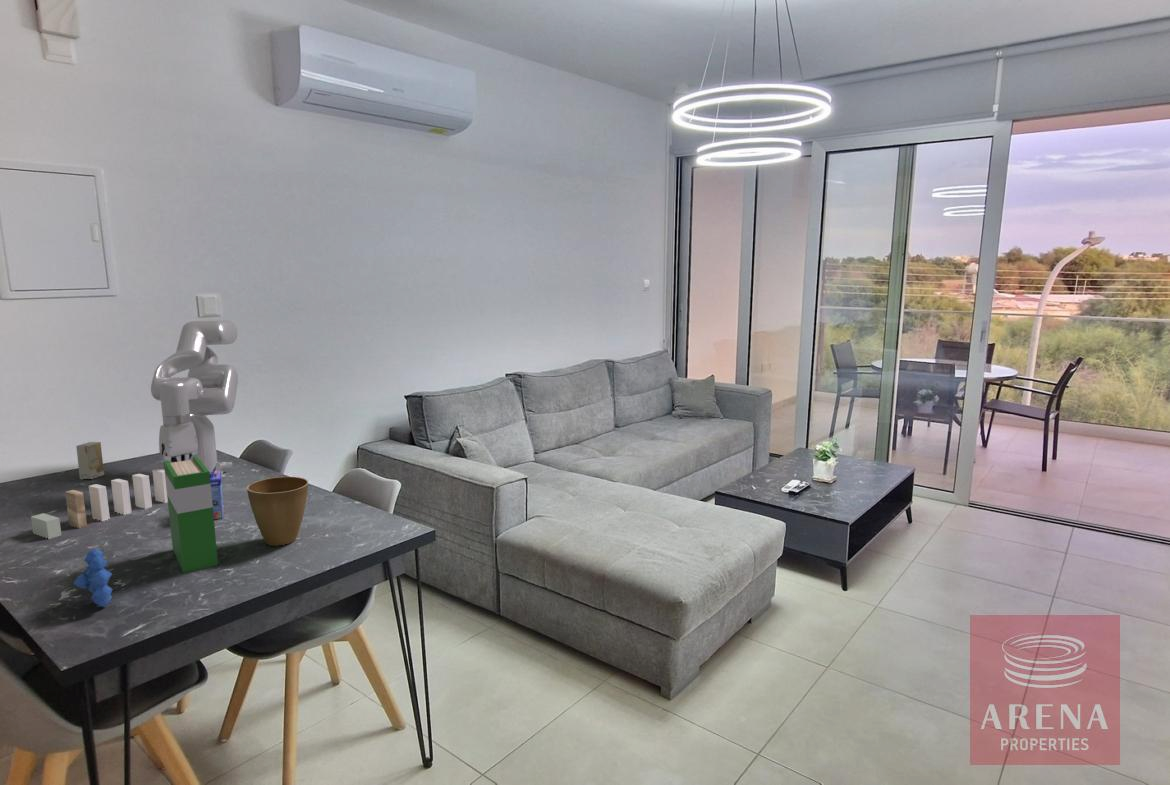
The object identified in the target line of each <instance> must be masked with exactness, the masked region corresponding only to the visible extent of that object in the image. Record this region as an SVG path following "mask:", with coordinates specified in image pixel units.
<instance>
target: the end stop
mask: <svg viewBox="0 0 1170 785" xmlns="http://www.w3.org/2000/svg"><path fill="white" fill-rule="evenodd" d="M30 521H31V526H32V534H33V533H34V534H33V535H35V534H36V535H35V536H38V535H39V536H38V537H41V536H42V538H44V537H45V538H44V539H47V538H48V539H47V540H51V539H54V538H57V537H61V536H62V528H61V522H60V517H57V516H55V515H51V514H47V513H44V512H42V513H39V514H36V515H32V516H30Z"/></svg>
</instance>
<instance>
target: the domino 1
mask: <svg viewBox="0 0 1170 785" xmlns="http://www.w3.org/2000/svg"><path fill="white" fill-rule="evenodd" d="M64 493H65V494H64V495H65V500H66V509H67V518H68V525H69V526H71V527H73V526H74V528H76V527H77V529H82V527H83V528H86V527H87V526H88V522H87V521H88V520H87V513H86V507H85V506H86V505H85V499H84V492H83V491H79V490H76V489H71V490H67V491H65V492H64ZM85 526H86V527H85Z"/></svg>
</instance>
